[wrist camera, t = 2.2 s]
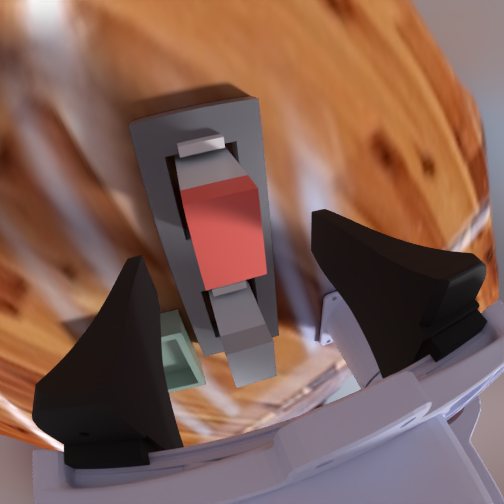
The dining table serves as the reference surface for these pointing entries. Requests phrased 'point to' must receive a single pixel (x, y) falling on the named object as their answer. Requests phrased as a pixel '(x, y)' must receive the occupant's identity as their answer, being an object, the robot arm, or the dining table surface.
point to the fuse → (244, 336)
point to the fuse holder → (166, 209)
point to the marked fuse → (222, 217)
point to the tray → (179, 354)
